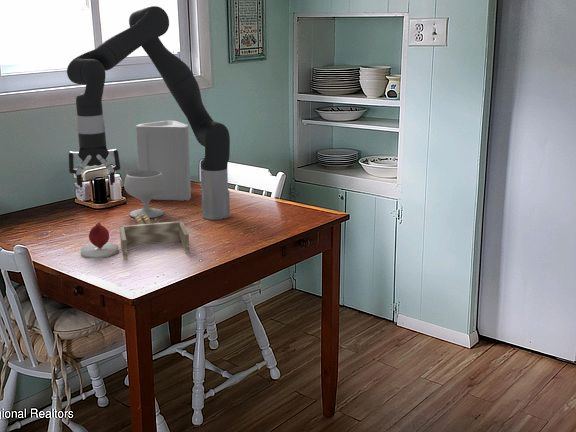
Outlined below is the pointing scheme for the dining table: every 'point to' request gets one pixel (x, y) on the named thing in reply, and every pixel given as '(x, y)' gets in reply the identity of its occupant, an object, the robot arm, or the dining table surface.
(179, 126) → the tall white box
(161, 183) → the chalice
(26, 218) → the dining table surface
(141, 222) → the ammunition
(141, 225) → the wooden plank arch
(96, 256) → the white flat disc
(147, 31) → the robot arm
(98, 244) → the onion
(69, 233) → the dining table surface
